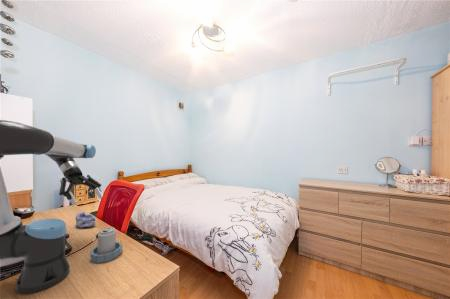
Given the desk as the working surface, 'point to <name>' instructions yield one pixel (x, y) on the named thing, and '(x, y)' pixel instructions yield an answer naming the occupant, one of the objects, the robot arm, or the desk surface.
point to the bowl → (105, 257)
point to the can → (106, 240)
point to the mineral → (84, 220)
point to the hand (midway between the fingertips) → (89, 200)
